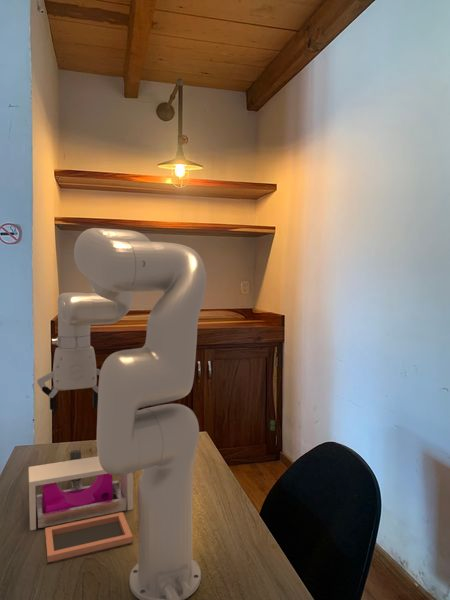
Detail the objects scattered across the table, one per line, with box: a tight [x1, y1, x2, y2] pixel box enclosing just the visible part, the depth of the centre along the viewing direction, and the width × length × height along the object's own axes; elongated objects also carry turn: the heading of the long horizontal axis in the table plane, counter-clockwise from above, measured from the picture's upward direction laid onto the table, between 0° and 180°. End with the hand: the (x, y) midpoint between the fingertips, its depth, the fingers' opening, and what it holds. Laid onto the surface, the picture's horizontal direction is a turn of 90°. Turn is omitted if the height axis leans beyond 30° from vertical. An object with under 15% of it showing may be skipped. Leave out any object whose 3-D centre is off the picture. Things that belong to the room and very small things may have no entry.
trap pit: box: [44, 511, 134, 565], centre depth 92 cm, size 10×16×2 cm, turn 114°
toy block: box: [41, 474, 113, 513], centre depth 103 cm, size 15×6×8 cm, turn 120°
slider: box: [36, 449, 127, 529], centre depth 107 cm, size 18×19×8 cm
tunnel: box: [28, 455, 134, 531], centre depth 103 cm, size 8×22×10 cm, turn 114°
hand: (75, 409), depth 113 cm, fingers open, 9 cm apart
